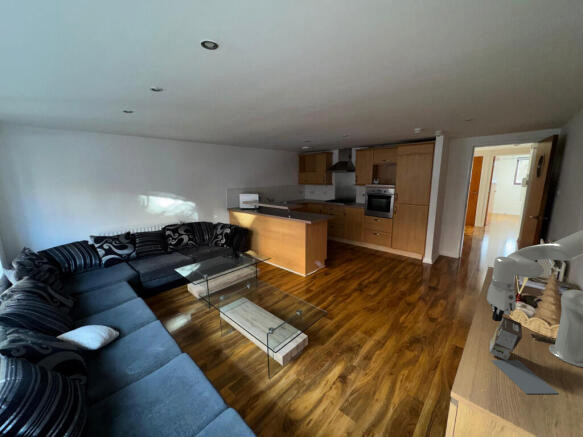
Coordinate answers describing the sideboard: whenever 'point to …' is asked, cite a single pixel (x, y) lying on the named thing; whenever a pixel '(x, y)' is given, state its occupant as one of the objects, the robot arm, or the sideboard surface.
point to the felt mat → (524, 377)
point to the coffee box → (505, 338)
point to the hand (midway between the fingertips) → (496, 320)
